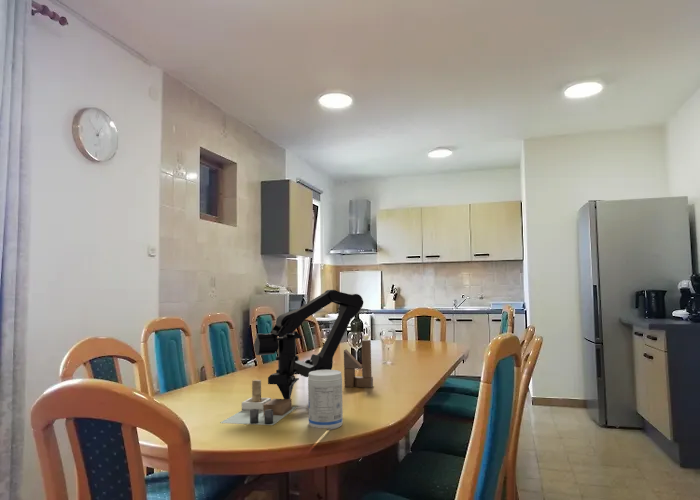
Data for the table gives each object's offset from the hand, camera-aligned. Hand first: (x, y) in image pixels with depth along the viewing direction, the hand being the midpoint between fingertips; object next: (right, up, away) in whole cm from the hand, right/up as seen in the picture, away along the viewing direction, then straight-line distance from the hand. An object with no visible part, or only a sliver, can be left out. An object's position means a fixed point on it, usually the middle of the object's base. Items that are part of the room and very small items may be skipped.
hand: (287, 401), depth 154 cm
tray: (-9, -1, -3) cm, 10 cm away
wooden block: (+24, -4, +32) cm, 40 cm away
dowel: (-9, 0, -3) cm, 10 cm away
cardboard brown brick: (-2, 0, -8) cm, 9 cm away
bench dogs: (-5, +1, -21) cm, 21 cm away
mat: (-7, -1, -11) cm, 13 cm away
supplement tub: (+14, 0, -22) cm, 26 cm away
